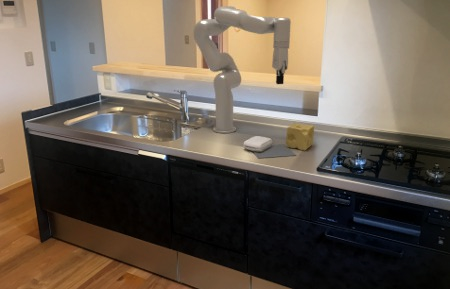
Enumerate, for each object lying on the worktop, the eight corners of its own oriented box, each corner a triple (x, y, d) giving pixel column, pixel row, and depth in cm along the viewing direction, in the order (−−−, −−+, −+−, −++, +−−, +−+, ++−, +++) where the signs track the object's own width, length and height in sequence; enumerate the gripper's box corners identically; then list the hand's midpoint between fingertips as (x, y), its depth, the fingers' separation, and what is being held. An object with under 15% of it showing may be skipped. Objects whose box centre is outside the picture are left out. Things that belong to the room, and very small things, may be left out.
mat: (249, 147, 195) (249, 146, 194) (284, 144, 198) (284, 143, 198) (258, 158, 180) (258, 158, 180) (296, 155, 183) (296, 155, 183)
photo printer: (273, 138, 193) (260, 145, 183) (273, 146, 194) (259, 154, 185) (255, 134, 198) (241, 141, 189) (254, 142, 200) (241, 149, 190)
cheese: (305, 151, 189) (307, 130, 185) (284, 146, 194) (285, 126, 191) (313, 145, 197) (315, 125, 194) (292, 141, 202) (294, 122, 199)
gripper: (268, 43, 195) (267, 81, 201) (278, 46, 181) (277, 87, 187) (283, 43, 196) (282, 80, 202) (294, 46, 183) (292, 86, 189)
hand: (279, 83), depth 195 cm, fingers closed
